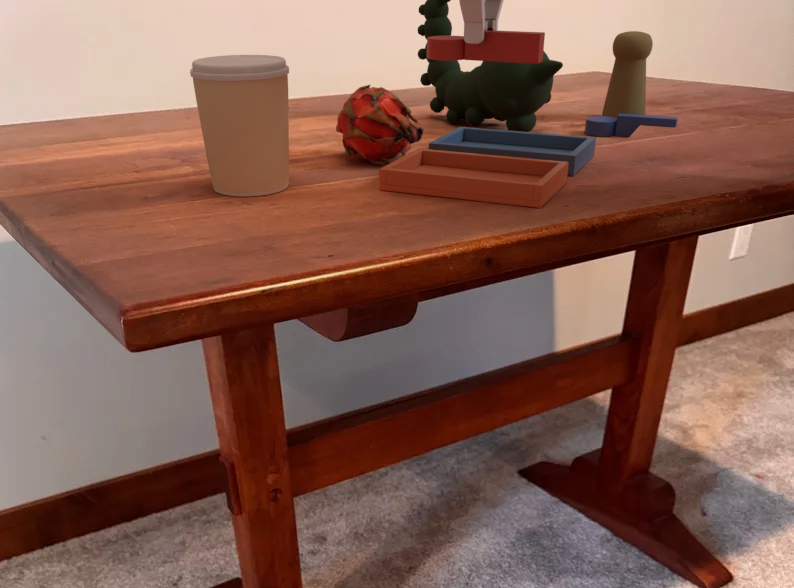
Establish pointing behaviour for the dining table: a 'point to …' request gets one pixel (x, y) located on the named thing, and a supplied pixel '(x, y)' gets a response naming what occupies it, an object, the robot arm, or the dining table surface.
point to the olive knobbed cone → (628, 75)
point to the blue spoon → (624, 124)
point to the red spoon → (489, 47)
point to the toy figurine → (484, 81)
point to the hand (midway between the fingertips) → (480, 41)
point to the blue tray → (519, 145)
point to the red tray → (475, 177)
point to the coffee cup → (244, 122)
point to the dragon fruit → (376, 125)
